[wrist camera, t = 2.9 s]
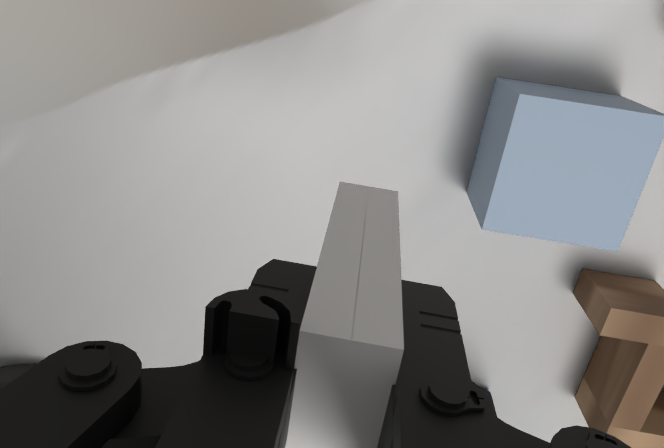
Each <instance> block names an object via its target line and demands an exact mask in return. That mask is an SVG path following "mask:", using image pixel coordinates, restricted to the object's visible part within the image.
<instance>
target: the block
mask: <svg viewBox="0 0 664 448" xmlns="http://www.w3.org/2000/svg"><path fill="white" fill-rule="evenodd" d="M663 137H664V114H663V113H660V112H658V111H656V110H653V109H651V108H648V107H646V106H644V105H641V104H639V103H636V102H634V101H632V100H629V99H627V98H625V97H622V96H618V95H611V94H605V93H598V92H592V91H585V90H579V89H572V88H566V87H559V86H553V85H546V84H540V83H533V82H527V81H520V80H514V79H507V78H501V77H496V80H495V84H494V87H493V91H492V95H491V99H490V103H489V107H488V111H487V115H486V119H485V123H484V126H483V130H482V134H481V138H480V142H479V146H478V150H477V154H476V158H475V161H474V165H473V169H472V173H471V177H470V181H469V185H468V189H467V195H468V197H469V199H470V202H471V204H472V207H473V209H474V212H475V214H476V216H477V219H478V221H479V224H480V226H481V228H482V230H488V231H494V232H500V233H506V234H512V235H518V236H525V237H531V238H537V239H543V240H549V241H555V242H561V243H568V244H574V245H580V246H586V247H592V248H598V249H604V250H611V251H617V252H618V249H619V247H620V244H621V242H622V239H623V237H624V234H625V232H626V229H627V227H628V224H629V222H630V219H631V217H632V214H633V212H634V209H635V207H636V205H637V202H638V200H639V197H640V195H641V192H642V190H643V187H644V185H645V182H646V180H647V177H648V175H649V172H650V170H651V167H652V165H653V162H654V160H655V157H656V155H657V152H658V150H659V147H660V145H661V142H662V140H663Z"/></svg>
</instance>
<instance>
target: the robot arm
mask: <svg viewBox="0 0 664 448" xmlns="http://www.w3.org/2000/svg"><path fill="white" fill-rule="evenodd" d="M460 332H461V330H460V326H459V321H458V316H457V311H456V307H455V302H454V301H453V300H452V299H451V297H450V296H449V295H448V294H447V293H446V291H445V290H444V289H443V288H442V287H439V286H433V285H428V284H422V283H416V282H411V281H405V280H401V259H400V233H399V207H398V191H392V190H386V189H380V188H374V187H368V186H362V185H357V184H351V183H345V182H340V184H339V188H338V191H337V195H336V199H335V202H334V206H333V210H332V213H331V217H330V221H329V224H328V228H327V232H326V235H325V239H324V243H323V246H322V250H321V254H320V258H319V261H318V265H317V267H316V266H310V265H304V264H299V263H293V262H287V261H282V260H276V259H273V260H271V261H270V262H268V263H267V264H265V265H264V266H262V267H260V268H259V269H258V270H257V272H256V274H255V276H254V278H253V280H252V282H251V286H250V287H249V289H244V290H237V291H230V292H227V293H225V294H222V295H220V296H218V297H215V298H214V299H213V300H212V301H211V302H210V303H209V304H208V305H207V306H206V310H205V329H204V348H203V356H202V358H201V360H200V361H198V362H195V363H191V364H188V365H184V366H176V367H166V368H145V369H142V363H141V361H140V359H139V357H138V356H137V354H136V352H135V351H133V350H131V349H130V348H128V347H126V346H125V345H123V344H119V343H114V342H109V341H86V342H82V343H78V344H75V345H71V346H67V347H65V348H63V349H61V350H59V351H57V352H55V353H53V354H51V355H49V356H48V357H46V358H45V359H44V360H42V361H41V362H39V363H38V364H36V365H29V364H24V365H12V366H6V367H2V368H0V448H631V447H630V446H628V445H627V444H625V443H624V442H622V441H621V440H619V439H618V438H616V437H614V436H612V435H610V434H607V433H605V432H602V431H600V430H597V429H595V428H588V427H582V426H572V427H567V428H562V429H561V430H560V431H559V432H558V433H556V434H555V435H554V436H553V438H552V440H551V443H549V442H546V441H544V440H542V439H539V438H537V437H535V436H532V435H530V434H527V433H525V432H523V431H520V430H518V429H516V428H514V427H512V426H510V425H508V424H506V423H505V422H503V421H502V420H500V419H499V418H497V417H496V416H495V415H494V412H493V408H492V406H491V404H490V402H489V400H488V398H487V396H486V394H485V393H484V392H483V391H482V390H481V389H480V388H479V387H478V386H477V385H476V384H475V383H474V382H472V381H471V378H470V373H469V368H468V364H467V359H466V354H465V349H464V345H463V340H462V335H461V334H460Z"/></svg>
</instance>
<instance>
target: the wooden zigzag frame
mask: <svg viewBox="0 0 664 448" xmlns="http://www.w3.org/2000/svg"><path fill="white" fill-rule="evenodd" d="M573 294H574V296H575V297H576V299H577V300H578V302H579V304H580V305H581V307H582V308H583V310H584V311H585V313H586V315H587V316H588V318H589V319H590V321H591V322H592V324H593V326H594V327H595V329H596V330H597V332H598V333H599V335H601V337H600V339H599V342H598V344H597V346H596V349H595V351H594V353H593V356H592V358H591V360H590V363H589V365H588V367H587V370H586V372H585V374H584V377H583V379H582V381H581V384H580V386H579V388H578V391H577V393H576V395H575V399H576V401H577V403H578V405H579V407H580V409H581V412H582V414H583V416H584V418H585V420H586V422H587V424H588V426H589V428H595V429H597V430H600V431H602V432H605V433H607V434H610V435H612V436H614V437H616V438H618V439H619V440H621V441H622V442H624V443H625V444H627V445H628V446H630V447H631V448H664V391H661V389H663V390H664V289H663V288H662V287H661V286H660V285H659V284H658V283H657V282H656V281H652V280H646V279H640V278H634V277H628V276H622V275H617V274H611V273H605V272H599V271H593V270H587V269H582V272H581V274H580V277H579V279H578V282H577V285H576V287H575V290H574V292H573Z"/></svg>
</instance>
